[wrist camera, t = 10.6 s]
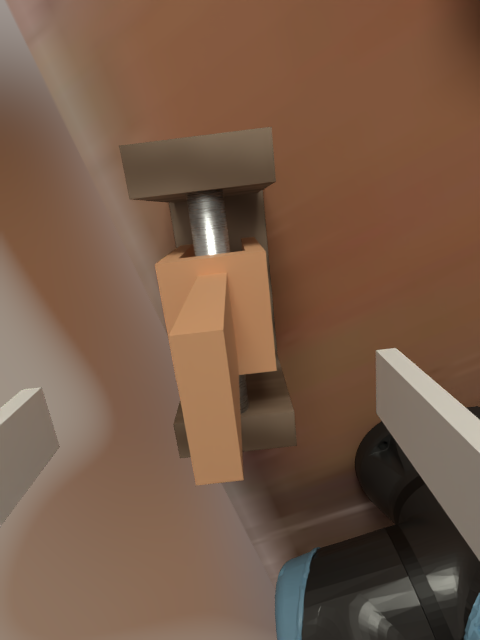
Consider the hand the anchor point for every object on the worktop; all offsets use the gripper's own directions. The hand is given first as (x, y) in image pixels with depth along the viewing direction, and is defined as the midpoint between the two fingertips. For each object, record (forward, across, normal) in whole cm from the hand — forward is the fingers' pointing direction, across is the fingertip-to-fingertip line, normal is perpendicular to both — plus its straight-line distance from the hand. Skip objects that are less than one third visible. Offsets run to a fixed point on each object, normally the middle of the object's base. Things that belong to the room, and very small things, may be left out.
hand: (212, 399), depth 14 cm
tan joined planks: (+21, 0, 0) cm, 21 cm away
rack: (+29, 0, 0) cm, 29 cm away
